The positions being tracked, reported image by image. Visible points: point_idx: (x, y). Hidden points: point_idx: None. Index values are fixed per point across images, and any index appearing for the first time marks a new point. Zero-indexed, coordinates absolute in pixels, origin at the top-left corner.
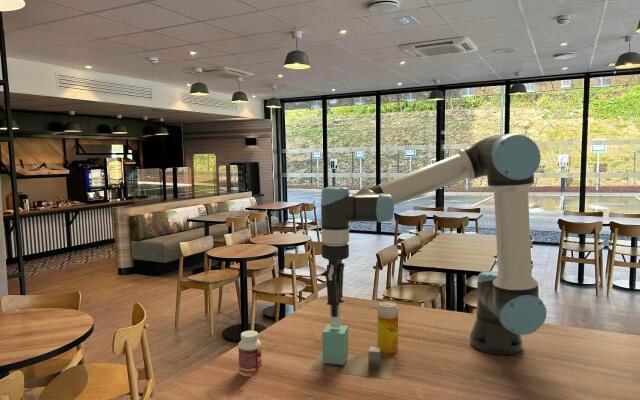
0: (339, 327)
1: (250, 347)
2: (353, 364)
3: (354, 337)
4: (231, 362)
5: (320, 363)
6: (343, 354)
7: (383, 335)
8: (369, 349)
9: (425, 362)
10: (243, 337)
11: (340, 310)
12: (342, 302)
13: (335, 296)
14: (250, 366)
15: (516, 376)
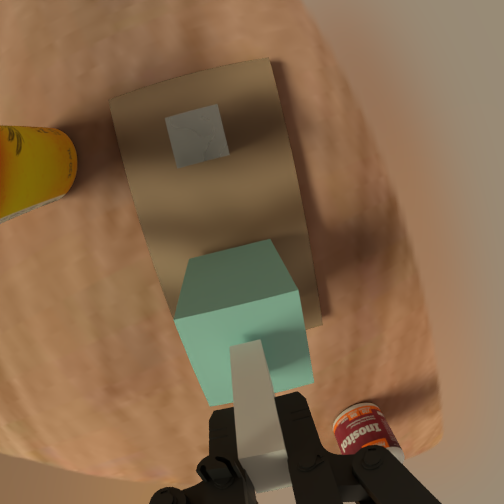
0: (260, 341)
1: (402, 454)
2: (223, 217)
3: (25, 310)
4: None
5: None
6: (277, 253)
7: (42, 169)
8: (210, 157)
9: (70, 28)
10: None
11: (243, 415)
12: (230, 458)
13: (436, 501)
14: (386, 421)
15: None
